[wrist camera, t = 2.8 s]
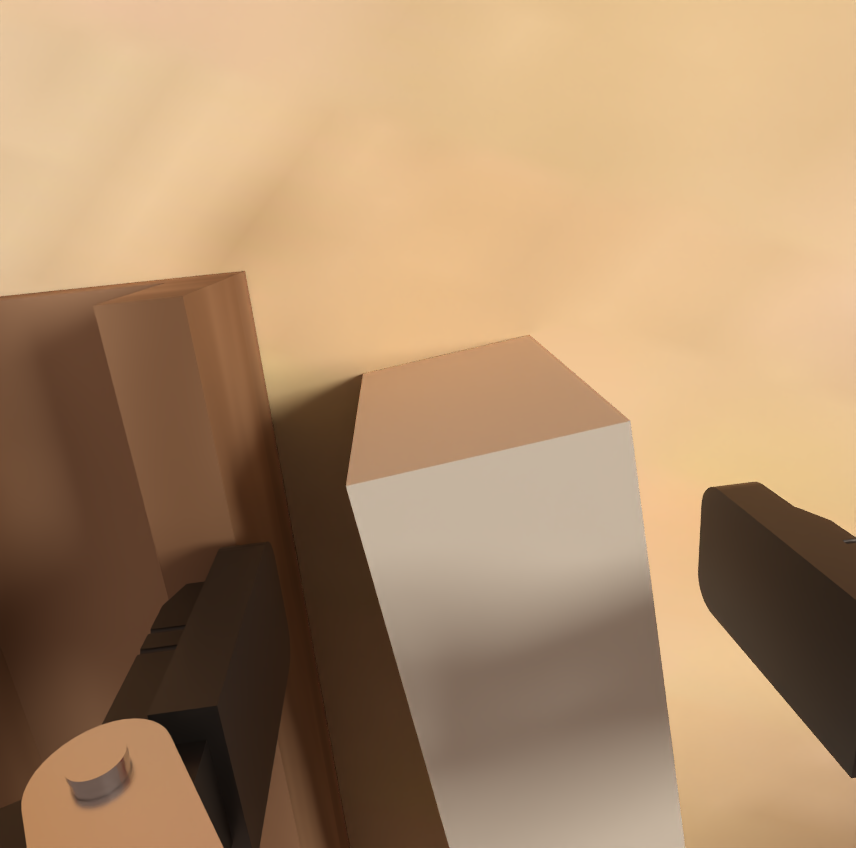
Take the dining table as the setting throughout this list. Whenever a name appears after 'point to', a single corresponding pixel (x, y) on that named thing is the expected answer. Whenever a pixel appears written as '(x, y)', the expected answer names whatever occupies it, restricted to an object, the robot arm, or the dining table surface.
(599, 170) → the dining table surface
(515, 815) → the cream rectangular block
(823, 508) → the dining table surface
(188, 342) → the rack
